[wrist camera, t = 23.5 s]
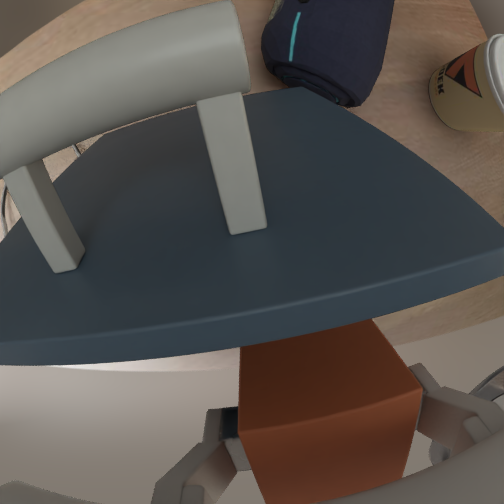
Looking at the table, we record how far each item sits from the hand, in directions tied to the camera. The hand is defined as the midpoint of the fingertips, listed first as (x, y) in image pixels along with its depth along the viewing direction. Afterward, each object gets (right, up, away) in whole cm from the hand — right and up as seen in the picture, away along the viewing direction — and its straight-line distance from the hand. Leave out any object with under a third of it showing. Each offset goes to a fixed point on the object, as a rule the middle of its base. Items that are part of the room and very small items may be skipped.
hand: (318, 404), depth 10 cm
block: (0, +1, +2) cm, 2 cm away
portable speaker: (+6, +30, +14) cm, 34 cm away
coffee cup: (+21, +23, +17) cm, 35 cm away
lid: (-5, +9, +2) cm, 10 cm away
